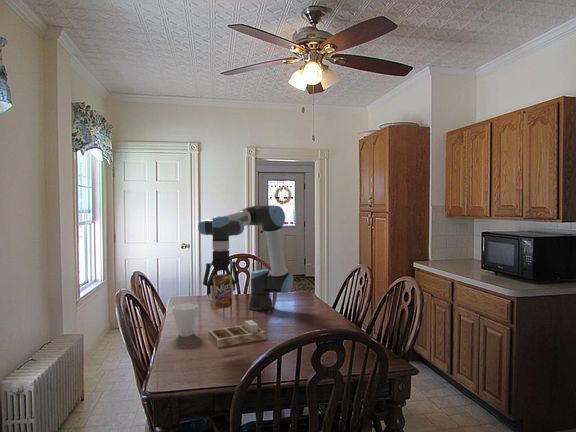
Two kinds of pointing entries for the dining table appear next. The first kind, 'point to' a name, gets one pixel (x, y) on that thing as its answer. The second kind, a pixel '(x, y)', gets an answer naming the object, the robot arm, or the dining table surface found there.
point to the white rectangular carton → (250, 326)
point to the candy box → (222, 291)
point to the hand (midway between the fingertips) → (221, 299)
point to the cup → (185, 318)
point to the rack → (234, 336)
